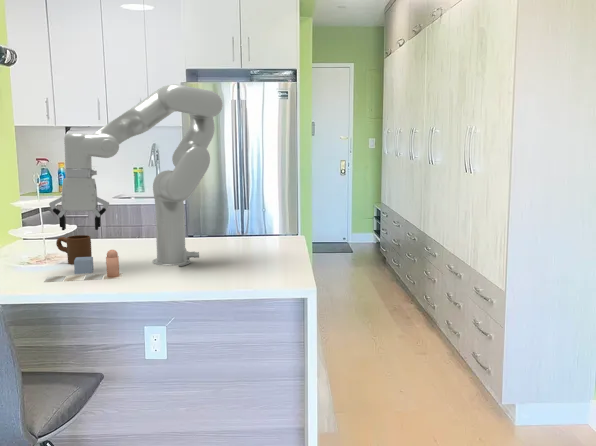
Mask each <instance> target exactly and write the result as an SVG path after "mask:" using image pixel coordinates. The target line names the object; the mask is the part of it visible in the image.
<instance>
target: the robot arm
mask: <svg viewBox="0 0 596 446" xmlns="http://www.w3.org/2000/svg"><path fill="white" fill-rule="evenodd" d="M222 108H223V100H222V98H221V96H220V95H219V94H218V93H217V92H215V91H213V90H209V89H204V88H199V87H192V86H187V85H184V84H174V83H173V84H167V85H164V86H162V87H160V88H158V89H157V90H156V91H154V92H152V93H151V94H150V95H147V97H145V98H144V99H143V100H141V101H140V102H138V103H137V104H136V105H134V106H132V107H131V108H130V109H127V110H126V111H125V112H123V113H122V114H121V115H119V116H118V117H116V118H114V119H113V120H111V121H109V122H108V123H107V124H105V125H104V126H102V127H101V128H100V129H98V130H97V131H95V132H94V133H92V134H87V133H78V132H77V133H74V132H73V133H71V132H70V133H66V134H65V136H64V138H63V139H64V165H65V166H64V167H65V178H63V179H62V185H61V186H62V187H61V196H60V197H59V198H57V199H55V200H52V201H50V202H49V203H48V204H49V207H50V208H51V210H52V212H53V213H54V214H55V215H57V217H58V218H59V219H58V220H59V228H61V231H65V230H66V229H67V223H66V221H67V220H66V219H67V218H66V216H65V214H66V213H67V212H92V213H93V214H94V215H95V217H94V230H96V231H98V230H99V228H100V227H101V217H102V215H103V214H104V213H105V212H106V211H107V210H108V207H109V205H110V202H109V201H107V200H106V199H102V198H101V197H99V196H98V191H97V184H96V179H95V178H93V176H97V175H98V172H97V170H94V169H93V168H92V167H93V166H92V158H93V157H94V158H102V159H110V158H112V157H115V156H116V155H117V154H118V152H119V150H120V145H121V144H123V142H125V141H127V140H129V139H130V138H133V137H135V136H139V135H142V134H144V133H146V132H148V131H150V130H151V129H152V128H154V127H155V126H156V125H158V124H159V123H160V122H161V121H163V120H165V119H166V118H167V117H169V116H170V115H171V114H172V113H174V112H177V113H178V112H180V113H182V114H183V113H184V114H188V115H189V118H190V121H189V123H190V124H189V127H188V129H187V131H186V133H185V134H184V136H183V137H182V139H181V140H180V143H179V144H178V146H177V147H176V148H175V150H174V152H173V154H172V156H171V158H172V160H171V162H172V164H173V166H174V169H173V170H169V169H167V170H163V171H161V172H158V173H157V175H156V176H155V177H154V179H153V183H152V192H153V198H154V199H153V200H154V206H155V232H156V233H155V234H156V258H154V259H153V260H152V262H151V263H152V264H154V265H157V266H163V267H164V266H166V267H167V266H170V267H171V266H179V267H183V266H188V265H189V264H190V263H191V258H192V259H199V258H200V251H189V250H188V251H187V247H186V224H185V223H186V222H185V221H186V220H185V217H186V216H185V215H186V213H185V205H184V202H185V201H186V200H188V199H189V198H190V197H191V196H192V195H193V193H194V192H195V190H196V189H197V188H198V186H199V184H200V182H201V181H202V180H203V178H204V176H205V174H206V173H207V172H208V169H209V167H210V163H211V156H210V155H211V154H210V152H209V150H208V147H209V145H210V143H211V142H212V139H213V138H214V135H215V120H214V117H217V116H218V115H219V114H220V113H221V111H222ZM59 203H61V210H60V209H59V208H57V206H56V205H58V204H59ZM98 203H99V204H101V205H103V207H102V208H101V209H100V210H99V209H98Z"/></svg>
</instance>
